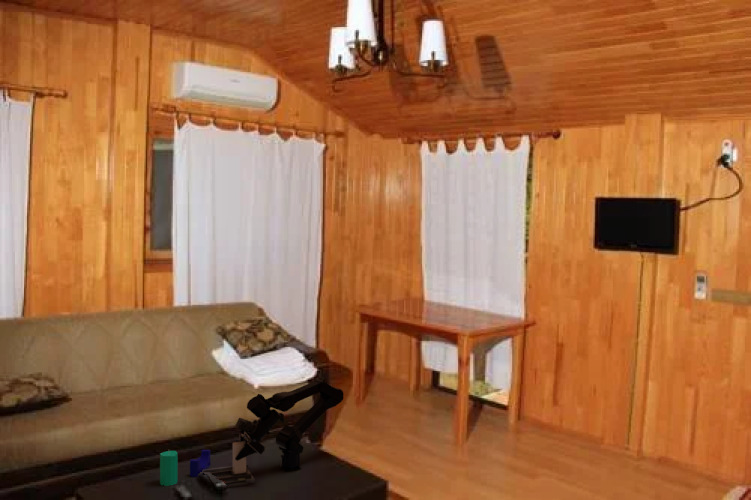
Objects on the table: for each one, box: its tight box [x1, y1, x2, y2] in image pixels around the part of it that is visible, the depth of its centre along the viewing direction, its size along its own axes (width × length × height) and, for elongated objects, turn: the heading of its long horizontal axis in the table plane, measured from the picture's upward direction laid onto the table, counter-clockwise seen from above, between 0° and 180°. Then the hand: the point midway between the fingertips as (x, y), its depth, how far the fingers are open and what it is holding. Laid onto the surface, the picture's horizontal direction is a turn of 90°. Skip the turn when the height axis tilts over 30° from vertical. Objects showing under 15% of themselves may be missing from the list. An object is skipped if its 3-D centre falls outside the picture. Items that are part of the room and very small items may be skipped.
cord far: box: [202, 464, 249, 472], centre depth 249 cm, size 17×3×1 cm, turn 114°
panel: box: [210, 467, 255, 487], centre depth 241 cm, size 14×12×2 cm
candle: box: [159, 450, 179, 487], centre depth 237 cm, size 6×6×12 cm
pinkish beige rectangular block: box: [231, 441, 248, 476], centre depth 242 cm, size 5×4×11 cm
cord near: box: [228, 482, 249, 488], centre depth 235 cm, size 7×1×1 cm, turn 114°
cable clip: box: [189, 449, 211, 478], centre depth 249 cm, size 12×4×6 cm, turn 172°
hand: (234, 457), depth 242 cm, fingers closed on pinkish beige rectangular block, 4 cm apart
